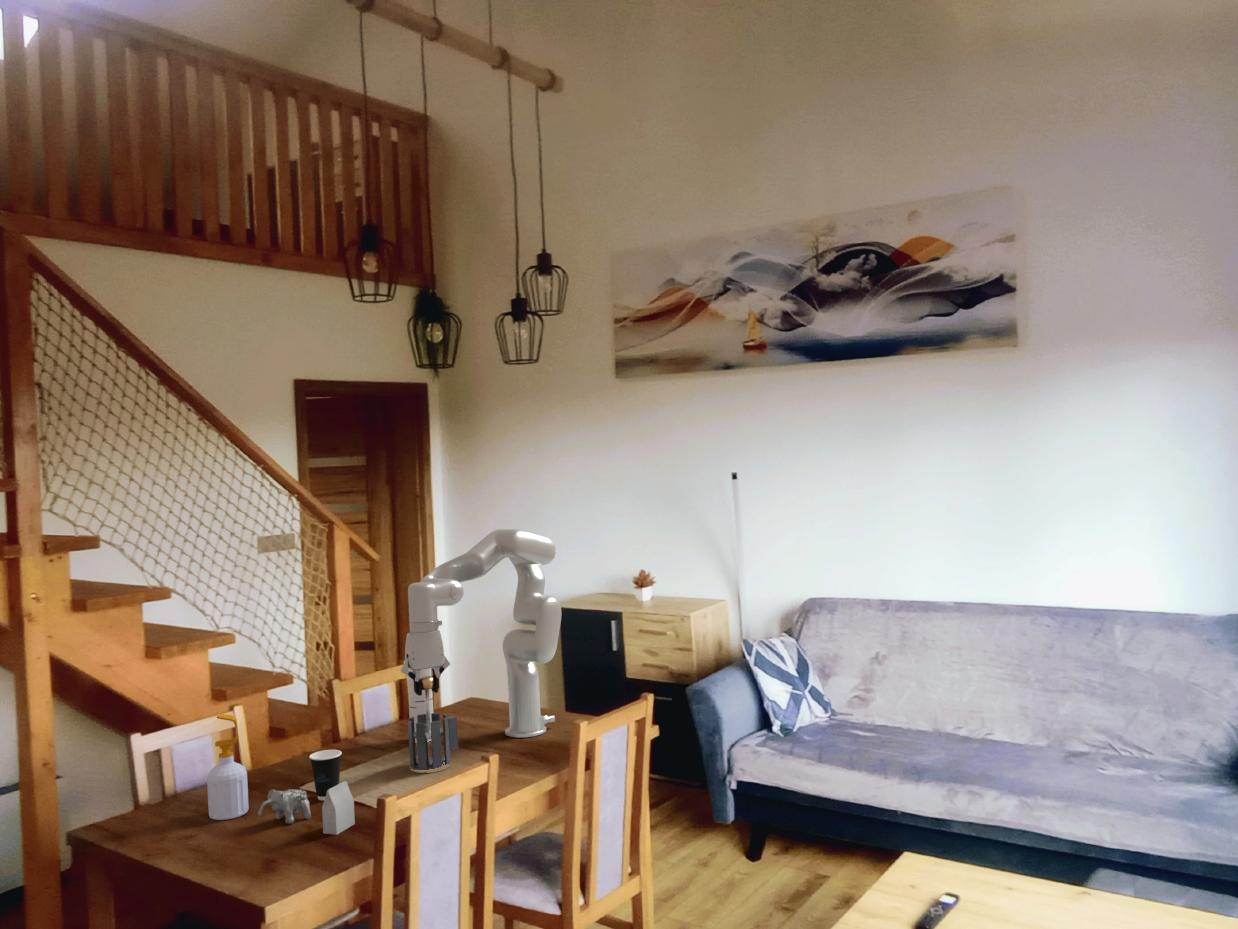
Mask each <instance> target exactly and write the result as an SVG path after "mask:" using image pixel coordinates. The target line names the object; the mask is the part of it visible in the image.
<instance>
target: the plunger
mask: <svg viewBox="0 0 1238 929" xmlns="http://www.w3.org/2000/svg"><path fill="white" fill-rule="evenodd" d="M420 681H421V683H422V690H425V701H426V722H427V728H426V729H425V733H426V739H431V728H430V708H429V690H430V689H433V688H434V677H433V676H423V677H420ZM440 736H441V737H442V736H443V728H440ZM443 737H444V736H443ZM414 738H416V739H417V736H416V731H415V732H414Z"/></svg>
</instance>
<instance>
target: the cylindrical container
mask: <svg viewBox="0 0 1238 929" xmlns="http://www.w3.org/2000/svg"><path fill="white" fill-rule="evenodd" d="M408 670H409V671H410V672H413V670H412V669H411V668H408ZM432 675H433V674H432V670H431V668H429V669H422V670H421V671H420V677H423V676H432ZM407 690H408V691H407V693H408V711H409V712H408V714H409V718H411V717H414V728H415V731H416V723H417V715H421V714H426V701H425V690H422V695H421V696H419V695H417V694H416V693H415V692H414V680H412V679H411V678H410V677H409V676H408V675H407ZM433 700H434V699H433V691H432V689H430V690H429V708H430V722H432V719H431V713H434V701H433ZM426 725H427V722H426ZM430 728H431V723H430ZM429 741H431V739H427V742H429ZM415 743H417V739H416V738H415ZM429 743H430V742H429Z"/></svg>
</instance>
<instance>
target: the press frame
mask: <svg viewBox="0 0 1238 929" xmlns="http://www.w3.org/2000/svg"><path fill="white" fill-rule="evenodd" d="M431 719H432V722H430V723H431V742H430V743H431V757H429V751H428V750H429V749H428V748H429V747H428V743H427V739H426V733H425V729H426V728H427V725H426V714H421V715H417V723H416V736H417V744H415V738H414V732H415V728H414V717H411V718H410V717H409V718H408V719H407V728H408V729H407V730H408V731H407V732H408V747H409V748H408V751H409V752H408V754H409V770H410V769H413V770H429V769H435V768H439V767H442V766H443V765H444V764H443V762H445V765H447V764H450V762H451V763H452V759H451V751H452V752H453V751H456V750H459V734H458V733H459V730H458V716H455V715H452V716H449V715H448V714H446V713H442V726H441V712H433V713H431ZM441 727H442V728H441ZM440 728H441V729H443V745H442V736H440ZM442 746H443V747H442ZM416 749H417V750H416ZM416 751H417V752H416ZM443 751H444V753H443ZM416 753H417V754H416ZM443 754H444V757H443ZM444 759H445V760H444ZM442 764H443V765H442Z"/></svg>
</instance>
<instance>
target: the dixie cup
mask: <svg viewBox="0 0 1238 929" xmlns="http://www.w3.org/2000/svg"><path fill="white" fill-rule="evenodd" d="M341 756H342V751H341V750H338V749H324V750H319V751H315V752H313V753H310V755H309V756H308V757H309V759H310V763H311V769H312V770H311V771H312V777H313V782H314V783H313V784H314V789H315V794H316V796H317V799H318V800H319V801H325V798H326V794H327V790H329V789H330V788H332V787H334V786H336V785H338V784H340V773H341V772H340V770H341V758H342V757H341Z"/></svg>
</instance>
